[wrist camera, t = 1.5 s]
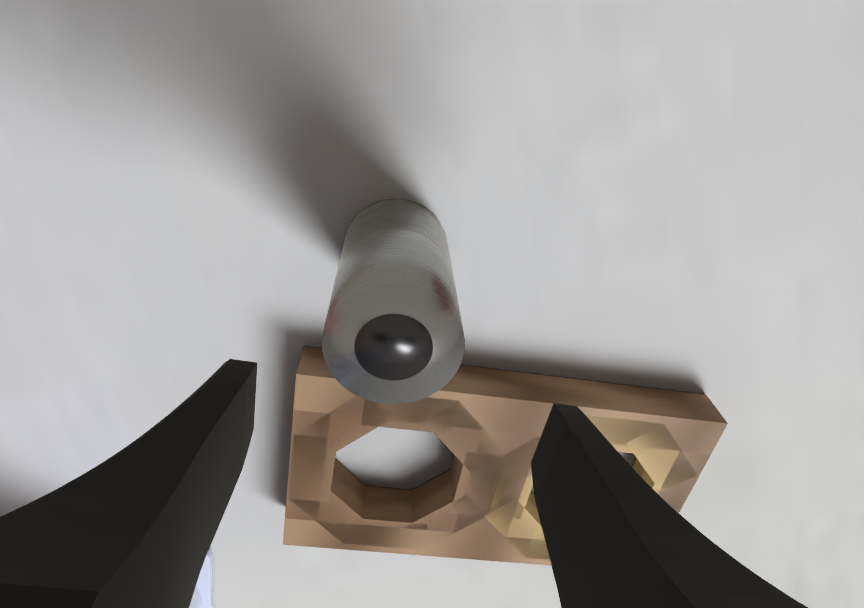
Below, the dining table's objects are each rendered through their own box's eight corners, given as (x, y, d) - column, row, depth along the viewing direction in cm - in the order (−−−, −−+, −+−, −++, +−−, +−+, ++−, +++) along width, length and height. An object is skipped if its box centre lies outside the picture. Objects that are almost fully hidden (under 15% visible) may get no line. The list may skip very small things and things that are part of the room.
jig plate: (290, 510, 29) (282, 544, 27) (303, 346, 24) (295, 374, 22) (632, 539, 31) (646, 572, 29) (705, 394, 26) (727, 423, 24)
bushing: (339, 287, 23) (316, 397, 17) (349, 191, 21) (328, 275, 15) (437, 300, 23) (450, 411, 17) (456, 207, 21) (478, 295, 15)
